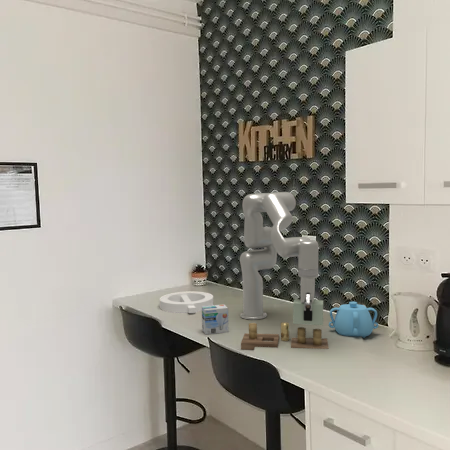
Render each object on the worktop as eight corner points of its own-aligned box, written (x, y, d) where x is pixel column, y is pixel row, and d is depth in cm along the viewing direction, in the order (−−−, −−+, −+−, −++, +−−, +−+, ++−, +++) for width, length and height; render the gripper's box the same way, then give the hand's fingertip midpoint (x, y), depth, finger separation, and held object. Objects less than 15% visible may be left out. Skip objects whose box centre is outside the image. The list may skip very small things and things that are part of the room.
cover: (294, 318, 194) (294, 299, 193) (322, 320, 192) (323, 300, 191) (293, 323, 188) (293, 303, 187) (322, 325, 185) (323, 304, 185)
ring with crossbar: (193, 316, 238) (192, 306, 238) (148, 309, 253) (148, 300, 252) (223, 303, 262) (223, 294, 261) (181, 297, 276) (181, 289, 276)
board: (291, 340, 197) (291, 324, 196) (327, 341, 195) (327, 324, 194) (290, 350, 185) (290, 333, 184) (328, 351, 183) (328, 334, 182)
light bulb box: (205, 334, 207) (204, 310, 206) (201, 330, 214) (200, 306, 213) (229, 332, 210) (228, 307, 209) (225, 327, 217) (224, 303, 216)
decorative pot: (352, 343, 192) (352, 309, 190) (325, 332, 205) (324, 301, 204) (382, 336, 200) (382, 303, 198) (353, 326, 214) (353, 295, 212)
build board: (244, 339, 200) (244, 320, 199) (279, 340, 198) (278, 320, 197) (241, 349, 188) (240, 329, 187) (277, 350, 186) (277, 329, 185)
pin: (281, 341, 196) (280, 321, 195) (289, 341, 196) (289, 322, 195) (280, 344, 193) (280, 324, 192) (289, 344, 192) (288, 324, 192)
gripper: (298, 267, 196) (298, 310, 199) (297, 277, 179) (297, 324, 182) (317, 267, 195) (317, 311, 197) (318, 277, 178) (318, 325, 180)
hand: (307, 317), depth 190 cm, fingers closed on cover, 6 cm apart
